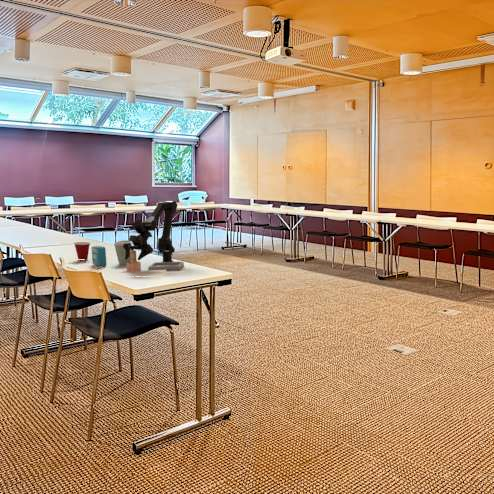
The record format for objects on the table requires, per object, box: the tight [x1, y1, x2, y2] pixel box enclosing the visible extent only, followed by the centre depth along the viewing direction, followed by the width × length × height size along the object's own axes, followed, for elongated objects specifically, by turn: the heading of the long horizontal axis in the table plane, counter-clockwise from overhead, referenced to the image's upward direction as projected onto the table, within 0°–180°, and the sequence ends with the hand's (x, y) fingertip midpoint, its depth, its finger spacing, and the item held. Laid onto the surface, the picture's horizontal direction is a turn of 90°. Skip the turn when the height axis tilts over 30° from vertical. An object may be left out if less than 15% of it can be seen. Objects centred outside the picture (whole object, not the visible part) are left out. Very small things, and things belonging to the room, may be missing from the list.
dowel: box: [130, 249, 138, 263], centre depth 316 cm, size 4×4×11 cm
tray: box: [147, 261, 185, 272], centre depth 322 cm, size 16×18×2 cm
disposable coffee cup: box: [114, 239, 132, 266], centre depth 339 cm, size 11×11×15 cm
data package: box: [91, 245, 107, 267], centre depth 341 cm, size 12×4×12 cm, turn 37°
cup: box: [125, 260, 142, 272], centre depth 317 cm, size 8×8×5 cm
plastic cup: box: [73, 241, 91, 260], centre depth 367 cm, size 11×11×12 cm
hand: (131, 259), depth 315 cm, fingers open, 9 cm apart
